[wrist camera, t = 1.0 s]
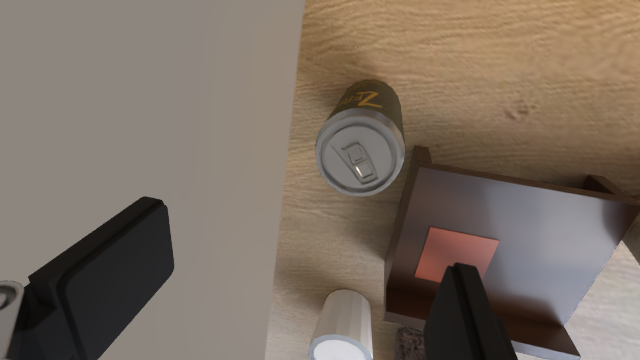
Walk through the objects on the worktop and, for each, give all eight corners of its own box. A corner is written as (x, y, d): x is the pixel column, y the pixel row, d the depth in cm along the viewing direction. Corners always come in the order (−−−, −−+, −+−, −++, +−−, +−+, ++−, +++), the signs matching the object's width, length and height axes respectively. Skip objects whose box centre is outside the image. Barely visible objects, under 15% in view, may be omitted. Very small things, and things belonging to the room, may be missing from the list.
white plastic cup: (387, 308, 39) (386, 362, 33) (351, 334, 42) (345, 388, 36) (342, 276, 38) (333, 325, 32) (309, 305, 41) (295, 354, 35)
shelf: (414, 144, 30) (422, 183, 23) (603, 176, 28) (676, 229, 21) (384, 262, 36) (383, 320, 29) (536, 294, 34) (574, 365, 27)
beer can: (410, 121, 29) (421, 179, 18) (357, 146, 31) (339, 212, 20) (384, 65, 27) (379, 94, 17) (329, 96, 29) (294, 138, 19)
